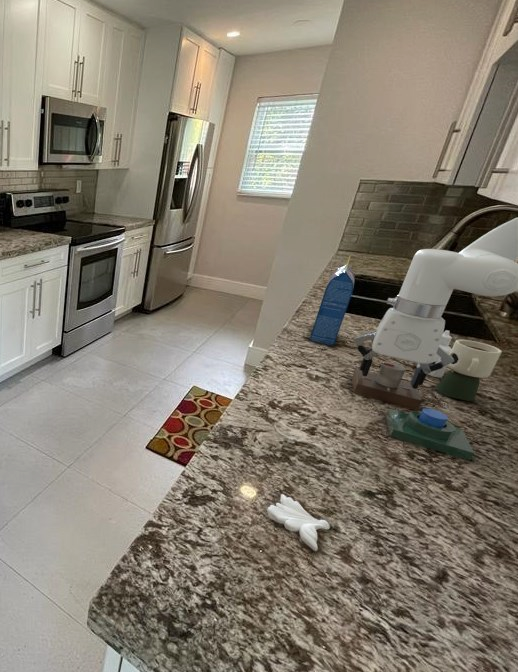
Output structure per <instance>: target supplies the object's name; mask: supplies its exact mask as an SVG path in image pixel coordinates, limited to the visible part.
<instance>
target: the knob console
mask: <svg viewBox="0 0 518 672" xmlns="http://www.w3.org/2000/svg"><path fill="white" fill-rule="evenodd" d="M377 375H378V373H375V372H370V371H369V372H368V374H367V376H363V375H362V371H361V370H360V369H358V368H355V369H354V372H353V373H352V375H351V382H352V384H351V385H352V391H353V394H355V395H359V396H363V397H366V398H370V399H374V400H377V401H381V402H385V403H388V404H392V405H395V406H399V407H403V408H406V409H410V410H413V411H419V408H420V406H421V404H422V402H423V399H422V396H421V394H420V392H419V390H418V388H417V389H414V388H412V386H411V383H410V382H411V381H410V382H409V381H405V380H402V379H401V381H400V384H399V386H398V387H397V388H391V387H386V386H383V385H381V384H379V383H377V382H376V377H377Z"/></svg>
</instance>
